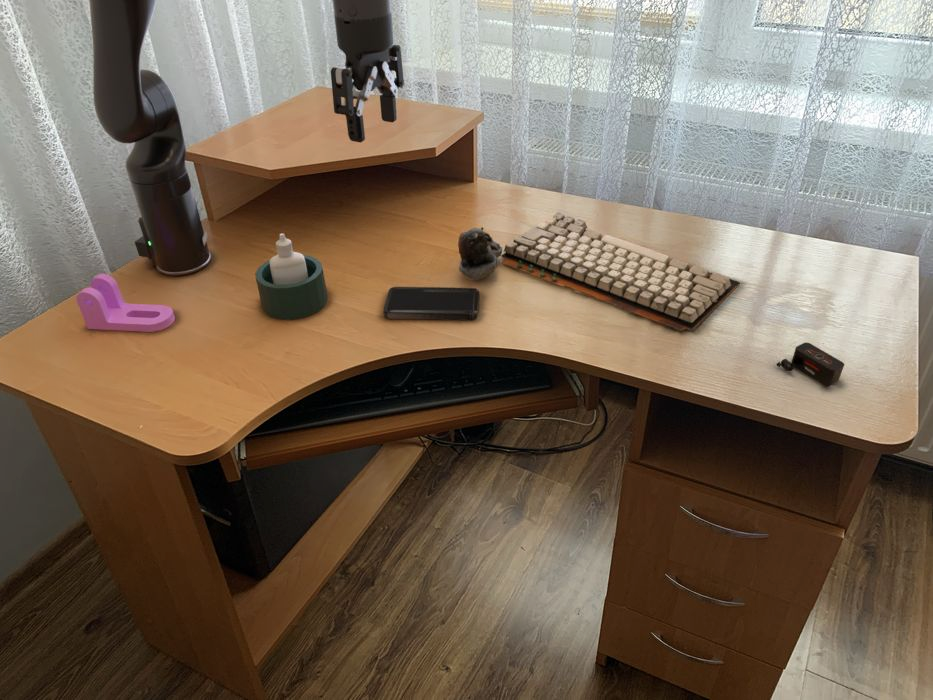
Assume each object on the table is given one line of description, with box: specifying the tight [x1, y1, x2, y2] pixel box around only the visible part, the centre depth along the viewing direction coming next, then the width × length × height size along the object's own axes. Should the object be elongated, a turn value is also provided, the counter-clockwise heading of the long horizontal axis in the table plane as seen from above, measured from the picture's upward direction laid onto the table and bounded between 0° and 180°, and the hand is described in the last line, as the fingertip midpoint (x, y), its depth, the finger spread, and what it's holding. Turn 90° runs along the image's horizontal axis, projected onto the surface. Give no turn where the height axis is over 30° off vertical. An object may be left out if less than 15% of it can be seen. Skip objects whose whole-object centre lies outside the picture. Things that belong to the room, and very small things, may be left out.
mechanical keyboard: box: [500, 211, 741, 332], centre depth 126 cm, size 38×19×3 cm, turn 51°
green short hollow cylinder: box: [254, 254, 328, 321], centre depth 120 cm, size 11×11×6 cm
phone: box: [383, 286, 480, 321], centre depth 119 cm, size 8×1×15 cm
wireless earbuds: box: [775, 342, 845, 388], centre depth 102 cm, size 5×7×3 cm, turn 32°
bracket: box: [75, 273, 176, 333], centre depth 116 cm, size 13×6×7 cm, turn 83°
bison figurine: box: [457, 226, 503, 281], centre depth 125 cm, size 12×7×10 cm, turn 173°
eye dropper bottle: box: [269, 232, 308, 285], centre depth 118 cm, size 4×6×12 cm
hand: (373, 130), depth 106 cm, fingers open, 8 cm apart
